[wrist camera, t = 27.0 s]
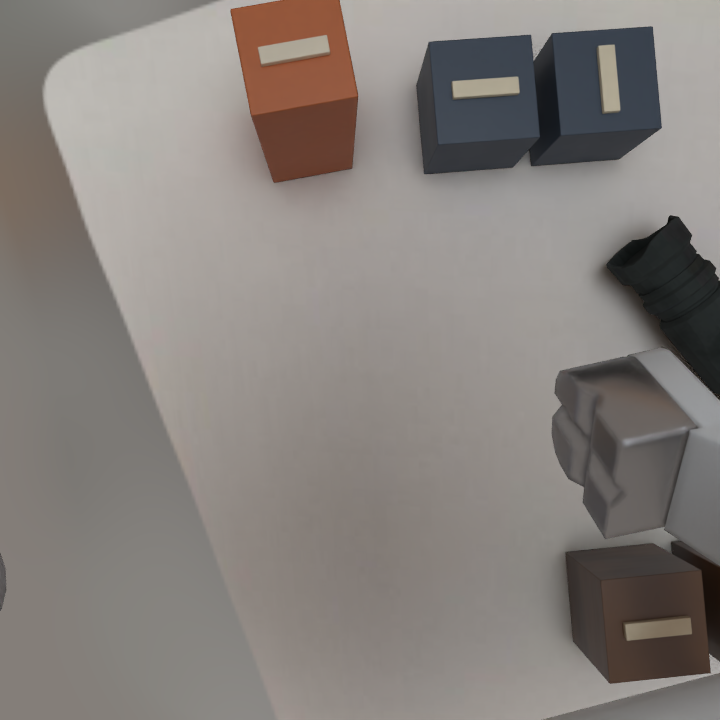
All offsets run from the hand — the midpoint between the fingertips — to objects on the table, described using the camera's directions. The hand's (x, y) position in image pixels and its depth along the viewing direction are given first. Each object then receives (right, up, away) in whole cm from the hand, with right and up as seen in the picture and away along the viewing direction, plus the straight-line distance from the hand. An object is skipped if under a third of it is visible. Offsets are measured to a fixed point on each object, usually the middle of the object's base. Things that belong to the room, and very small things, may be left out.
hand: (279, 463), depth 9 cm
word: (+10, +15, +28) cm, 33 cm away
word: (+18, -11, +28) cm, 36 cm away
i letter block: (-2, +14, +28) cm, 31 cm away
